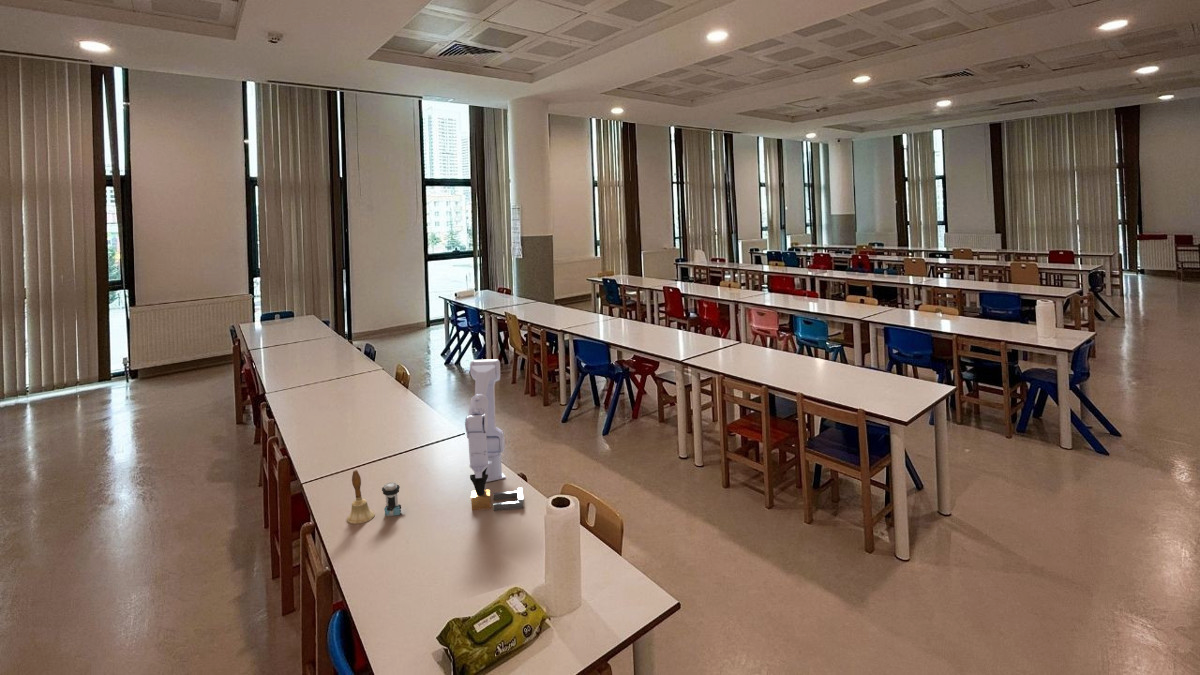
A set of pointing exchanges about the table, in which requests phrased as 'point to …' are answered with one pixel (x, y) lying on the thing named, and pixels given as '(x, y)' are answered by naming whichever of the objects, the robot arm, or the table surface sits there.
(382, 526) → the table surface
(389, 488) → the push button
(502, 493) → the guide channel
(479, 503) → the block
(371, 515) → the hand bell
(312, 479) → the table surface
